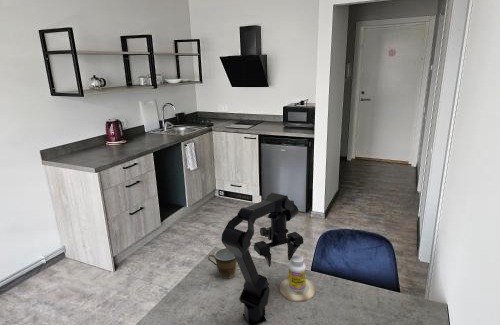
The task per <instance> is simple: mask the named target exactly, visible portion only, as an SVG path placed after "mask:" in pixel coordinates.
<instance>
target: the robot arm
mask: <svg viewBox="0 0 500 325" xmlns="http://www.w3.org/2000/svg"><path fill="white" fill-rule="evenodd" d="M299 212H300V210H299V206H297V205H296V203H295V200H291V199H289V197H288V195H287V194H286V195H285V194H283V193H277V192H271V193H269V194H268V195H267V196H266V197H265V199H264V200H262V201H259V202H257V203H254V204H251V205H249V206H247V207H241V208H240V209H239V210H238V212H237V215H235V216H234V217H233V218H232V219H230V220H229V221H228V222H227V224H226V225H225V228H224V229H223V231H222V234H221V242H222V244H223V246H224V248H227V249H228V250H229V251H230V252H231V253H233V254H234V256H235V258H236V261H237V263H236V264H237V265H238V267H239V270H240V272H241V274H242V276H243V279H244V283H243V288H242V291H241V293H240V295H239V299H238V300H239V302H240V303H241V304H243V308H244V313H243V314H242V317H243V319H244V320H245V322H246V323H247V324H248V325H260V324H262V323H265V322H267V317H266V306H267V305H268V302H269V296H270V283H269V282H268V278H267V277H266V276H264V275H261V274H259V272H258V270H257V268H256V265H255V263H254V259H253V256H252V254H251V252H250V246H251V245H252V242H251V241H252V238H253V237H254V234H255V226H254V224H255V222H256V220H258V219H260V218H262V217H264V216H267V219H270V226H269V227H265V226H262V227H260V228H259V234H260V237H265V238H268V241H271V242H268V243H267V242H265V240H260V241H256V242H255V243H254V244H253V250H254V251H255V252H256V253H257V254H258V255H259V256H261V257H262V256H263V257H264V259H265V261H266V264H267V266H268V267H269V268H270V267H271V265H272V253H271V249H273V248H276V247H280V246H281V247H282V246H283V245H286V244H287V260H288V261H291V258H292V257H293V256H294V254H295V253H296V251H297V250H298V248H299V247H301V245H303V244H304V237H303V236H302V235H301V234H299V233H298V232H297V231H292V232H289V229H287V222H290V221H291V220H292V219H294V218H295V217H297V216H298V214H299ZM243 221H244V222H247V230H246V231H244V230H241V229H238V228H236V227H237V226H239V225H240V224H242V222H243Z"/></svg>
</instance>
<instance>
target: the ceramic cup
mask: <svg viewBox="0 0 500 325" xmlns="http://www.w3.org/2000/svg"><path fill="white" fill-rule="evenodd" d="M210 257H212V258H214V261H215V262H214V261H213V260H212V259H210ZM207 259H208V260H209V262H211V263H213V265H215V266H216V268H217V269H218V270H217V271H218V274H219V277H221V278H222V279H224V280H225V279H229V280H230V279H232V278H234V277H235V275H236V268H237V264H238V263H237V261H236V258H235V256H234V254H233V253H231V252H230V251H229V250H228V249H227V248H226V247H224V248H221V249H218V250H216V251H215V253H214V254H209V255H208V256H207Z"/></svg>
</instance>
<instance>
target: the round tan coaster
mask: <svg viewBox="0 0 500 325" xmlns="http://www.w3.org/2000/svg"><path fill="white" fill-rule="evenodd" d="M279 284H280V285H279V292H280V294H281V296H282V297H283V298H284V299H286V300H288V301H291V302H295V303H302V302H308V301H310V300H312V299H313V298H314V297H315V295H316V285H315V284H314V283H313V282H312V281H311V280H310V279H307V278H306V287H305V289H304V290H303V291H301V292H295V291H292V290H291V289H290V288H289V277H288V278H285V279H284V280H282V281H281V283H279Z"/></svg>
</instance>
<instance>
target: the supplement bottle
mask: <svg viewBox="0 0 500 325" xmlns="http://www.w3.org/2000/svg"><path fill="white" fill-rule="evenodd" d="M290 261H291V262H290V263H289V264H288V278H289V288H290V289H291V290H292V291H295V292H301V291H303V290H304V289H305V287H306V279H307V265H306V263H305V262H304V261H305V260H304V257H303V256H302V255H297V254H296V255H293V256H292V258H291V260H290Z"/></svg>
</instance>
